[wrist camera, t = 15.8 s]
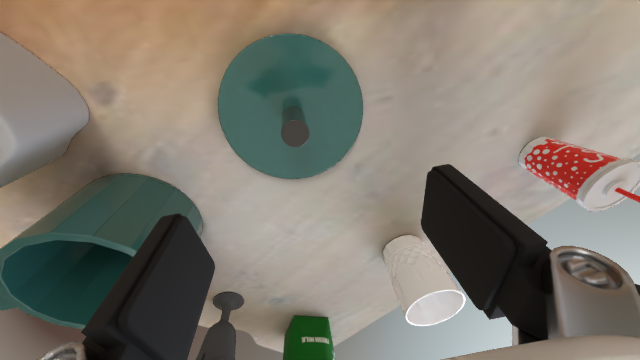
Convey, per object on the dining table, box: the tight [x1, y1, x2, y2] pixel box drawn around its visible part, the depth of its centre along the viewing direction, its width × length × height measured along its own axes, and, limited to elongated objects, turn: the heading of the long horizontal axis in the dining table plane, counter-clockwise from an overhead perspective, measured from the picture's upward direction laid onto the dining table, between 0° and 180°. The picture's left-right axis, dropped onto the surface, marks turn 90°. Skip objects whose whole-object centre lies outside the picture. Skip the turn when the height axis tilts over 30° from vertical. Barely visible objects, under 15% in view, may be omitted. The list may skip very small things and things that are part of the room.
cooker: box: [0, 174, 203, 329], centre depth 25 cm, size 14×19×10 cm
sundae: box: [196, 292, 244, 360], centre depth 33 cm, size 7×7×15 cm
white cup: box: [383, 235, 465, 326], centre depth 34 cm, size 8×8×10 cm
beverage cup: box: [518, 137, 640, 212], centre depth 26 cm, size 6×6×14 cm
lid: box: [218, 33, 363, 179], centre depth 22 cm, size 15×15×6 cm
